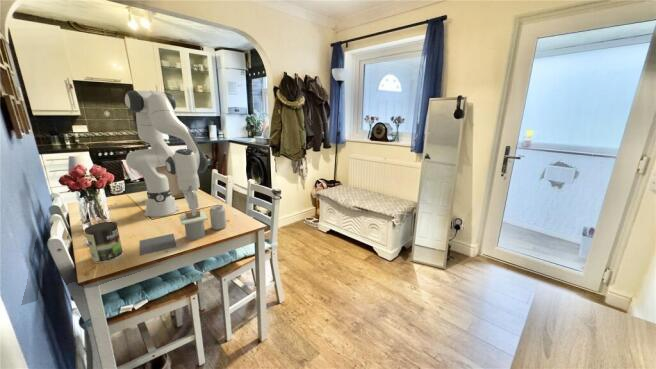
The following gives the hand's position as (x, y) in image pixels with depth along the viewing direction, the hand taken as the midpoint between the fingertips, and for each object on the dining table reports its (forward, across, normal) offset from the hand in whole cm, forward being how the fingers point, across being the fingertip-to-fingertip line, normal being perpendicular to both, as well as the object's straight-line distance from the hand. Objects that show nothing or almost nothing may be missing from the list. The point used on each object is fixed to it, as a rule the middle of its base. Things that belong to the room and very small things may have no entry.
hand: (192, 211), depth 126 cm
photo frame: (+14, +74, +7) cm, 75 cm away
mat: (+13, +1, +16) cm, 21 cm away
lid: (+3, 0, 0) cm, 3 cm away
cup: (+14, 0, 0) cm, 14 cm away
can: (+14, +5, -12) cm, 19 cm away
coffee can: (+14, 0, +34) cm, 37 cm away
